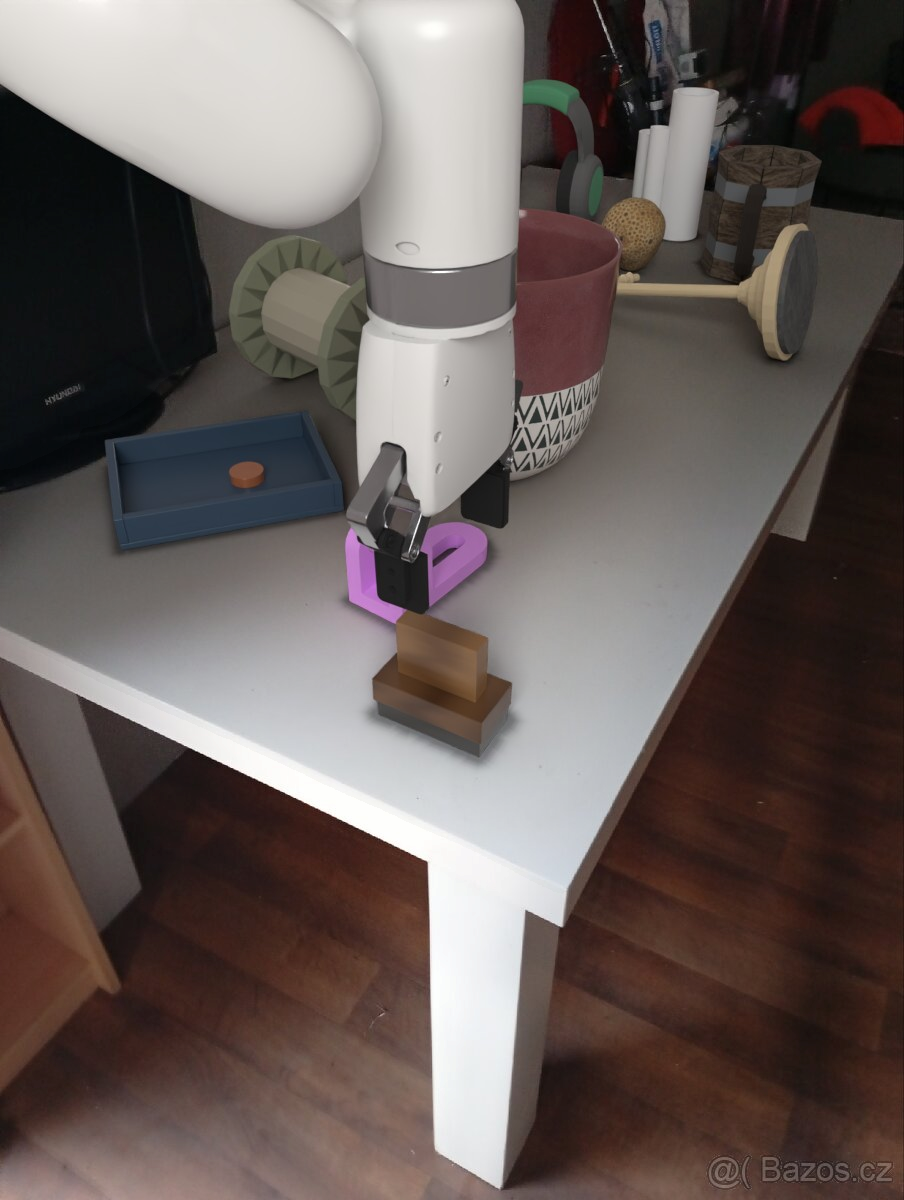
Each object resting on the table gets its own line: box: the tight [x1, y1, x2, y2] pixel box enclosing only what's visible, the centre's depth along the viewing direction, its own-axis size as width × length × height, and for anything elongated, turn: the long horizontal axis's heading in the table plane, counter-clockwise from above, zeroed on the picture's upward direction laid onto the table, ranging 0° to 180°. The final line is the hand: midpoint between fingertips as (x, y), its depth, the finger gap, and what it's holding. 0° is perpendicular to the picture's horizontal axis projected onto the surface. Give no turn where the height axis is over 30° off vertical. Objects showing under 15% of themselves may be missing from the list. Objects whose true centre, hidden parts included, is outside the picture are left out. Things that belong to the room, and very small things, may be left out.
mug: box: [700, 144, 823, 285], centre depth 130 cm, size 20×14×15 cm
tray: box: [104, 409, 345, 551], centre depth 88 cm, size 20×15×3 cm
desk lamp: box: [616, 223, 819, 361], centre depth 113 cm, size 15×35×40 cm
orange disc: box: [229, 462, 265, 488], centre depth 89 cm, size 3×3×1 cm
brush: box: [371, 610, 513, 758], centre depth 63 cm, size 8×4×8 cm, turn 60°
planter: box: [503, 207, 623, 482], centre depth 86 cm, size 20×20×21 cm
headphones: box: [520, 78, 605, 222], centre depth 148 cm, size 19×11×20 cm, turn 66°
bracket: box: [344, 521, 488, 625], centre depth 76 cm, size 13×6×7 cm, turn 143°
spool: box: [228, 234, 370, 422], centre depth 100 cm, size 16×15×15 cm
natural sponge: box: [600, 197, 666, 272], centre depth 133 cm, size 9×9×10 cm
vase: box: [631, 86, 720, 242], centre depth 143 cm, size 11×7×20 cm, turn 61°
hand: (446, 560), depth 58 cm, fingers open, 9 cm apart
